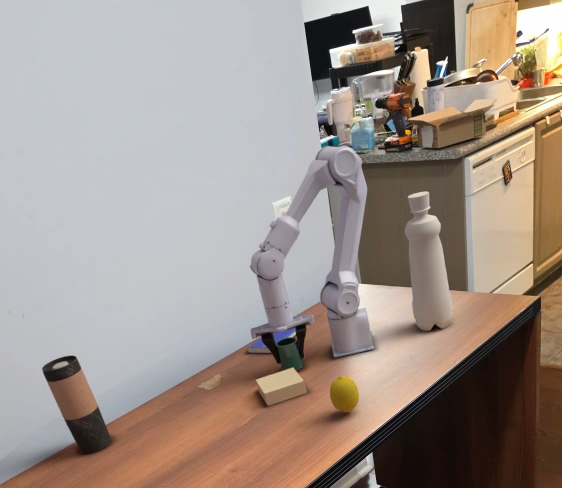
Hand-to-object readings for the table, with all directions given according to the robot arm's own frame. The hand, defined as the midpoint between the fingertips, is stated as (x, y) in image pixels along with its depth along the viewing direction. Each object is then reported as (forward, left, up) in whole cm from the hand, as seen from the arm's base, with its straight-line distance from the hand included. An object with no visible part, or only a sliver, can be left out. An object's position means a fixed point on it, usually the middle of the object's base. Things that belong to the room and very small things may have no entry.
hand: (290, 359), depth 153 cm
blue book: (+5, -21, -3) cm, 22 cm away
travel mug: (+45, +18, -3) cm, 49 cm away
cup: (0, 0, -2) cm, 2 cm away
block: (+3, +12, -3) cm, 12 cm away
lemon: (-11, +28, -3) cm, 30 cm away
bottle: (-35, -8, -3) cm, 36 cm away
